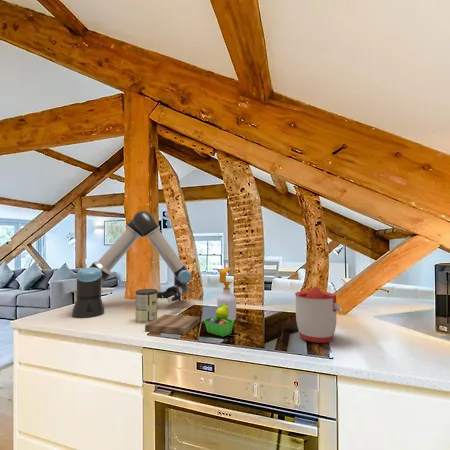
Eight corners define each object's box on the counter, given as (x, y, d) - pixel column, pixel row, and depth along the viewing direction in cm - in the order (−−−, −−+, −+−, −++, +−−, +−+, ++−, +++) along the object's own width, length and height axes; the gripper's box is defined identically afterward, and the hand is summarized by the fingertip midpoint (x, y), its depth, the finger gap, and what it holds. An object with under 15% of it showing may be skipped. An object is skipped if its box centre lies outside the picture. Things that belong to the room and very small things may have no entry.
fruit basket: (202, 332, 117) (202, 304, 118) (217, 327, 124) (217, 301, 124) (223, 338, 110) (222, 309, 110) (237, 333, 116) (237, 305, 117)
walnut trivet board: (144, 331, 118) (145, 325, 119) (164, 319, 136) (164, 314, 136) (185, 334, 114) (185, 328, 114) (199, 322, 132) (199, 316, 132)
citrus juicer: (339, 349, 98) (338, 291, 99) (290, 341, 107) (289, 287, 108) (345, 336, 112) (343, 285, 113) (301, 329, 120) (300, 282, 121)
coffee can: (140, 317, 141) (140, 288, 141) (160, 317, 140) (160, 288, 140) (131, 323, 130) (131, 292, 131) (152, 323, 129) (153, 292, 130)
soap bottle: (239, 319, 136) (239, 268, 138) (226, 323, 130) (226, 269, 132) (227, 315, 143) (227, 266, 144) (213, 319, 137) (213, 268, 138)
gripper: (193, 300, 162) (178, 308, 142) (154, 298, 168) (134, 306, 148) (193, 287, 163) (178, 293, 142) (154, 285, 169) (134, 291, 148)
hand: (156, 300), depth 145 cm, fingers open, 13 cm apart
